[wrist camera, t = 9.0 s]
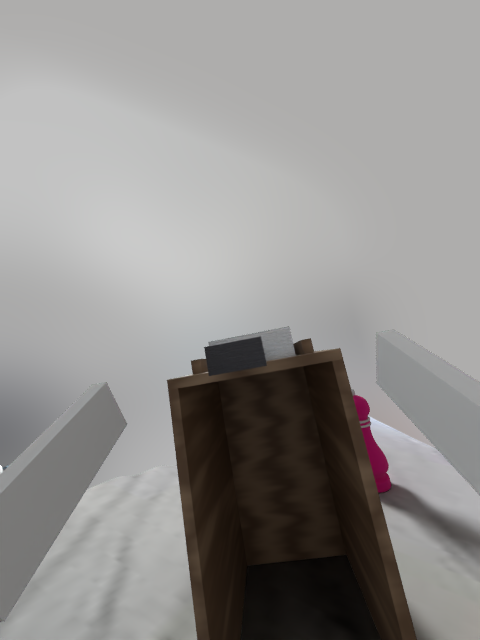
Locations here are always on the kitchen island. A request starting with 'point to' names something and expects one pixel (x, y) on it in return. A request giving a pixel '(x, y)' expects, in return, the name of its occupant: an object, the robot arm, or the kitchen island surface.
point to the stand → (278, 485)
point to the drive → (248, 351)
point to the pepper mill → (372, 446)
